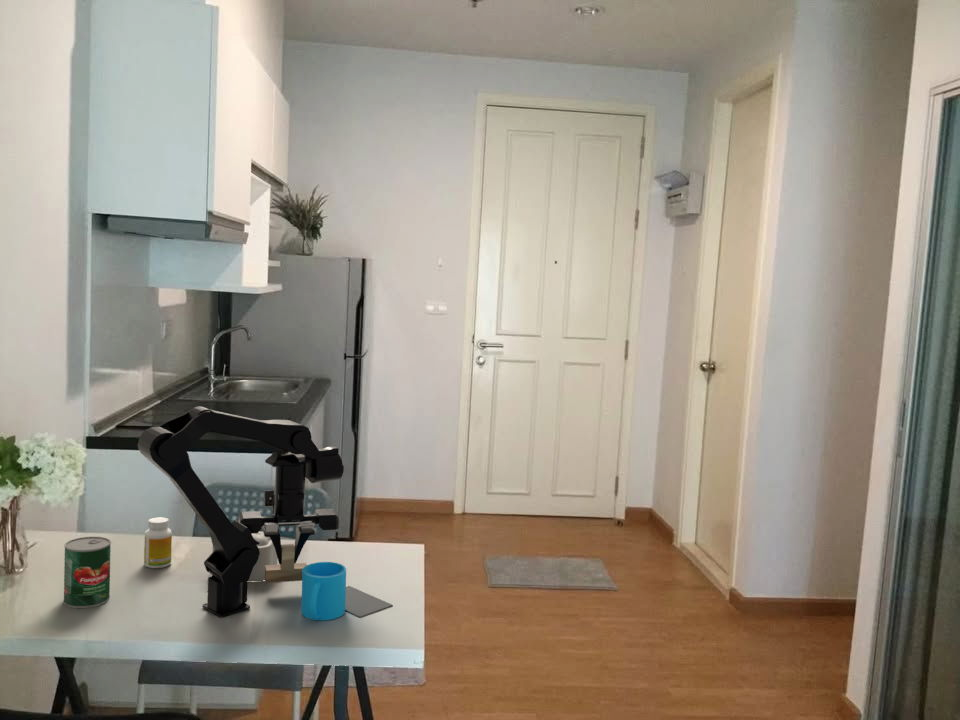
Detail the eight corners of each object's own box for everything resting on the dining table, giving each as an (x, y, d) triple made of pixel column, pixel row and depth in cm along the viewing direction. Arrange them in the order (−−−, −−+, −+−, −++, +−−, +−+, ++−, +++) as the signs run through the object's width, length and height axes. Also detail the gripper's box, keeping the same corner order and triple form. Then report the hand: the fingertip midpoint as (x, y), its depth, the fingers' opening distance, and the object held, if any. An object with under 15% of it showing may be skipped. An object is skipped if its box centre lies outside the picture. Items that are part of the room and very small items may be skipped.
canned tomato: (88, 611, 153) (89, 552, 152) (53, 603, 155) (54, 546, 154) (119, 596, 161) (120, 540, 159) (85, 589, 163) (86, 534, 162)
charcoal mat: (359, 617, 158) (359, 616, 158) (315, 597, 166) (316, 596, 166) (392, 605, 164) (392, 604, 164) (349, 586, 172) (349, 585, 172)
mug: (308, 600, 164) (309, 560, 163) (349, 604, 163) (350, 563, 162) (289, 627, 152) (290, 583, 151) (333, 631, 151) (334, 587, 150)
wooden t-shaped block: (307, 581, 166) (309, 547, 165) (266, 584, 163) (267, 549, 162) (305, 574, 169) (306, 541, 169) (264, 577, 167) (265, 543, 166)
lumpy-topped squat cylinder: (265, 583, 171) (267, 542, 170) (203, 578, 172) (204, 537, 171) (280, 566, 182) (282, 527, 181) (221, 561, 182) (223, 522, 181)
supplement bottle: (176, 564, 179) (177, 519, 178) (154, 570, 174) (155, 525, 173) (160, 558, 182) (161, 514, 181) (138, 564, 177) (139, 519, 176)
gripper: (331, 474, 174) (328, 547, 176) (237, 476, 168) (235, 552, 170) (340, 488, 164) (337, 565, 165) (241, 491, 158) (238, 571, 159)
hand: (287, 563), depth 165 cm, fingers closed on wooden t-shaped block, 2 cm apart
